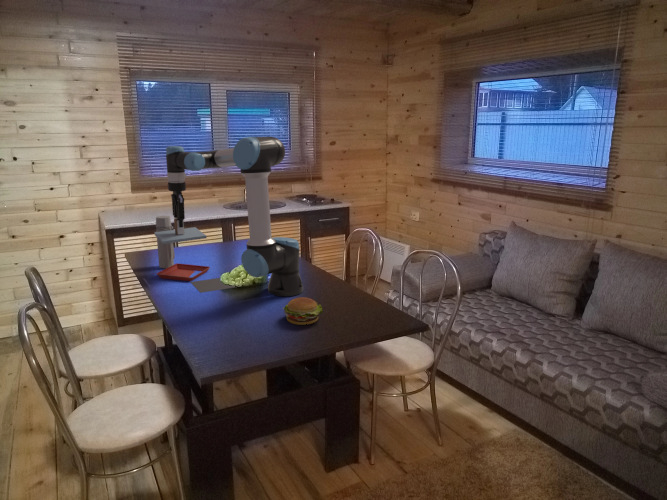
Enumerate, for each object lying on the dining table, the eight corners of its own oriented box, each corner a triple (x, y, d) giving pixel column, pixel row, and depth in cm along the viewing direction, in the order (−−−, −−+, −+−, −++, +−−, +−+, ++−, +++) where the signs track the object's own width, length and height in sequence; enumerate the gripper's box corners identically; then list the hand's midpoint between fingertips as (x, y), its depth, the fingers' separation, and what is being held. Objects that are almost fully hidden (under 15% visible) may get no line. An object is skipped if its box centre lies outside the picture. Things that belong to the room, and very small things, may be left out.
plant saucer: (211, 272, 241) (210, 266, 240) (192, 284, 224) (191, 277, 223) (176, 269, 245) (176, 263, 244) (155, 280, 228) (155, 273, 227)
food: (288, 329, 178) (288, 308, 175) (280, 314, 191) (280, 294, 189) (325, 325, 181) (326, 304, 179) (316, 311, 194) (316, 291, 192)
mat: (237, 288, 219) (237, 286, 219) (200, 293, 211) (200, 292, 211) (225, 277, 232) (224, 276, 232) (190, 283, 224) (190, 282, 224)
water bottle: (155, 267, 246) (151, 217, 239) (167, 264, 252) (163, 214, 246) (169, 270, 241) (165, 219, 235) (180, 266, 248) (177, 216, 242)
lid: (206, 238, 227) (205, 220, 225) (163, 244, 218) (161, 225, 216) (195, 229, 243) (193, 212, 241) (154, 234, 234) (152, 217, 232)
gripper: (190, 183, 219) (192, 236, 225) (180, 179, 233) (183, 228, 239) (172, 184, 215) (175, 237, 221) (163, 179, 229) (166, 230, 235)
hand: (179, 232), depth 230 cm, fingers closed on lid, 4 cm apart
